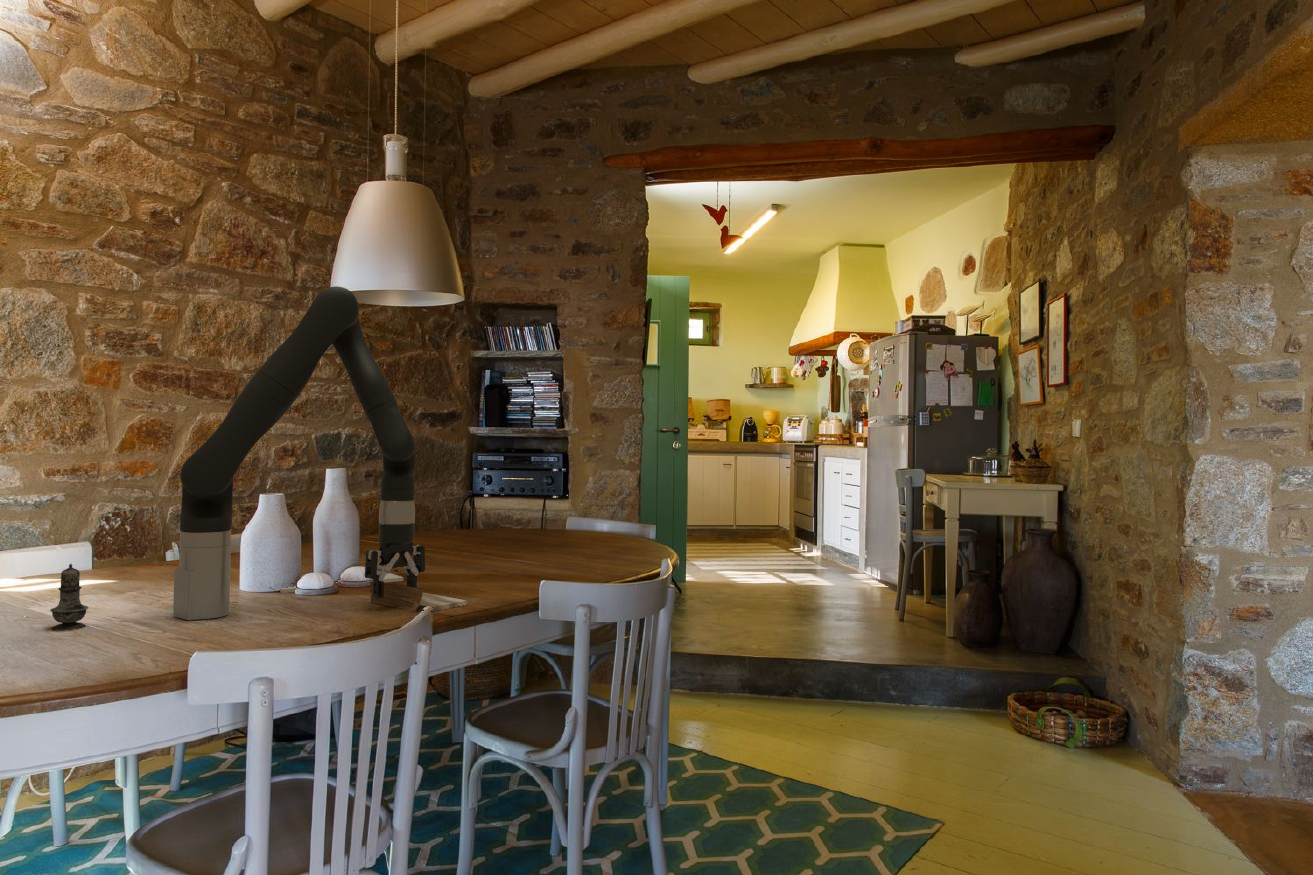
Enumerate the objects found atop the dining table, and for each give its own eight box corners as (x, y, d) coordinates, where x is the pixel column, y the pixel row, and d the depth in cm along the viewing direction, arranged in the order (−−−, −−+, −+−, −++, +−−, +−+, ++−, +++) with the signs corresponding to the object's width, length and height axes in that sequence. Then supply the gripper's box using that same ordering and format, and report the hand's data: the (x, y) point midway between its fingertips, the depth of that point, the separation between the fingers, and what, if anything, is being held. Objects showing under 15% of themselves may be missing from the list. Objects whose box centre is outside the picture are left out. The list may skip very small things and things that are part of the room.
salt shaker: (55, 624, 162) (56, 561, 162) (91, 623, 164) (93, 560, 164) (45, 631, 156) (47, 566, 156) (83, 630, 159) (84, 565, 159)
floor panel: (431, 611, 182) (431, 607, 182) (371, 599, 193) (371, 595, 193) (466, 604, 190) (466, 600, 190) (406, 593, 202) (407, 589, 202)
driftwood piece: (365, 604, 189) (366, 581, 189) (372, 602, 191) (373, 580, 191) (415, 613, 181) (416, 589, 181) (422, 611, 183) (423, 588, 183)
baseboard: (267, 589, 206) (281, 595, 199) (267, 577, 206) (281, 583, 199) (386, 577, 226) (403, 582, 219) (386, 566, 226) (403, 571, 219)
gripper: (411, 517, 194) (409, 588, 194) (358, 521, 183) (356, 597, 183) (434, 520, 190) (432, 592, 190) (380, 524, 178) (378, 602, 178)
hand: (395, 595), depth 186 cm, fingers open, 8 cm apart
